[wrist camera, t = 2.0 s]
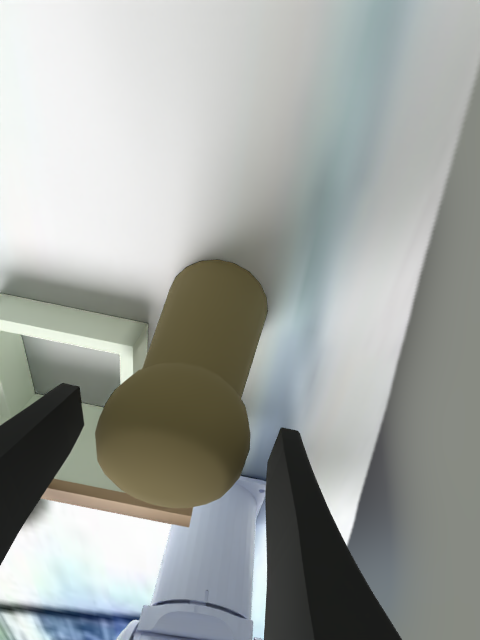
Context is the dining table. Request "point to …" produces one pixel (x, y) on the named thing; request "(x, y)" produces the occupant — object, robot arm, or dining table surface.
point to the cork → (188, 393)
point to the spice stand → (81, 465)
